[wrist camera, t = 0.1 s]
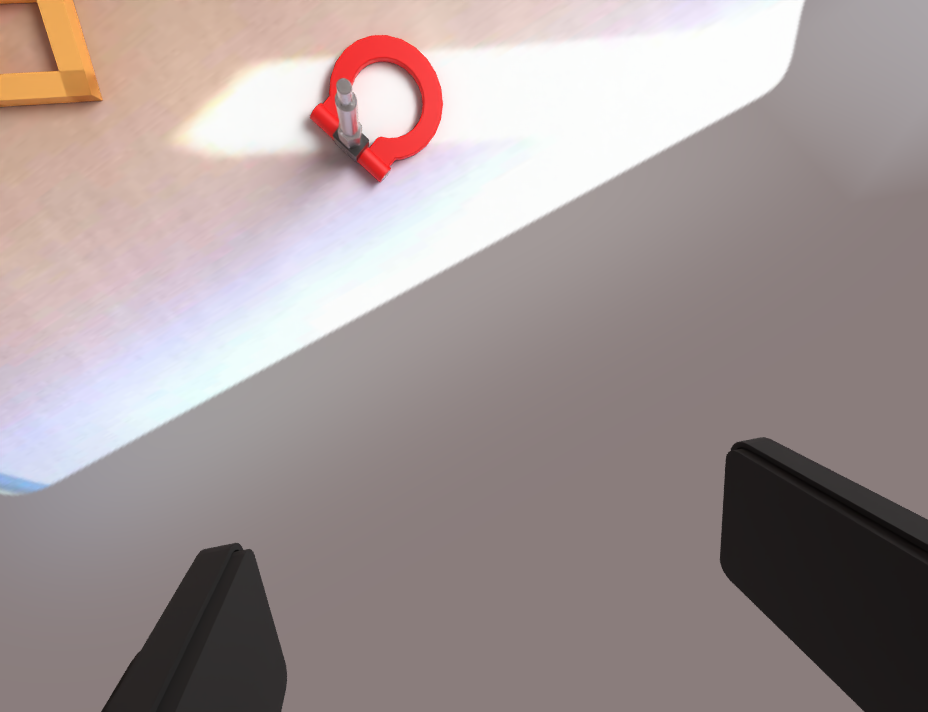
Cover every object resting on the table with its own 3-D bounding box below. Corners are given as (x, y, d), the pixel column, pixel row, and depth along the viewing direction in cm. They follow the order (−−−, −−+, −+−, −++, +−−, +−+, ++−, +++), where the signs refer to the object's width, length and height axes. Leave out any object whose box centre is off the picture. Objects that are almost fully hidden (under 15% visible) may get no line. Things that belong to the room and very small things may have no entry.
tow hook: (378, 15, 33) (299, 112, 33) (385, -129, 20) (260, 28, 21) (461, 103, 35) (387, 193, 36) (512, 23, 23) (398, 160, 23)
